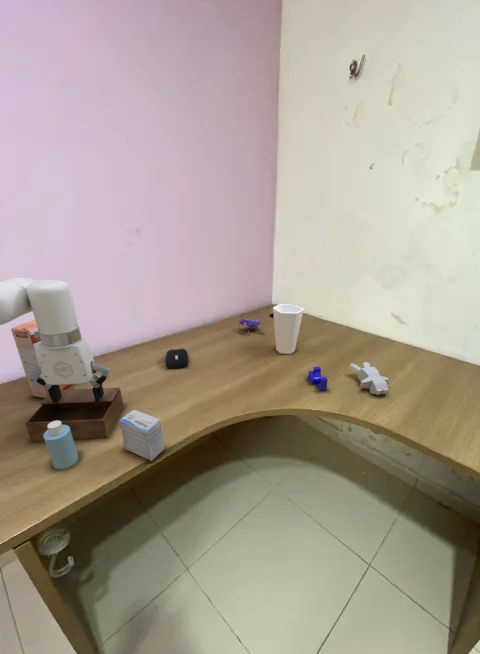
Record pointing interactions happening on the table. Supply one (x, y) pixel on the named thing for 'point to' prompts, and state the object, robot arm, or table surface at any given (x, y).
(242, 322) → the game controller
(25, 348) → the cracker box
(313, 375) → the cable holder
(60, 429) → the bottle
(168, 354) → the computer mouse
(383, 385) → the bunny figurine
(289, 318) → the cup
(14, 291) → the robot arm
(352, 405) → the table surface
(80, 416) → the wooden box
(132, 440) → the medicine box
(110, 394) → the flap
